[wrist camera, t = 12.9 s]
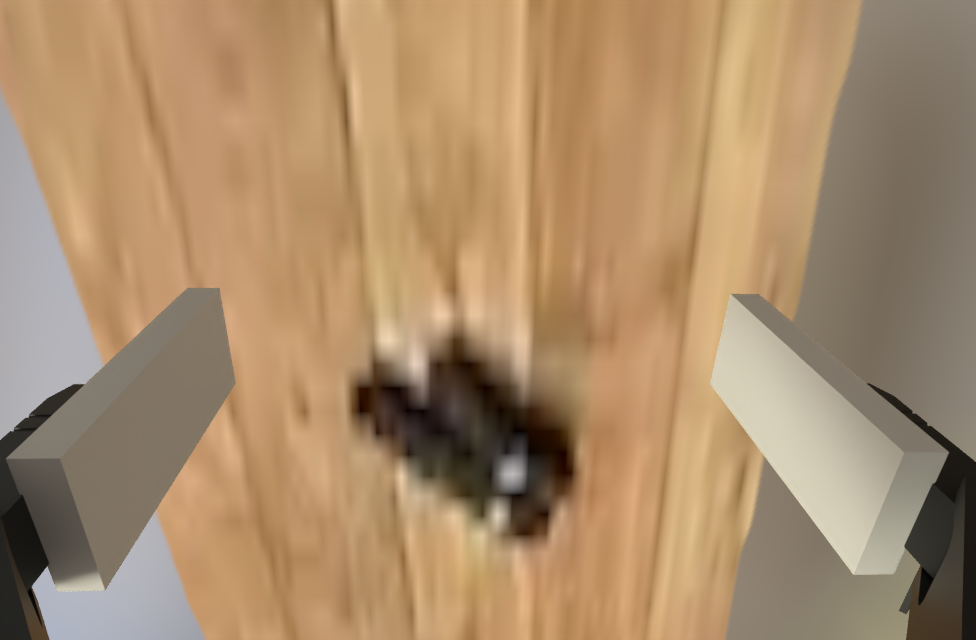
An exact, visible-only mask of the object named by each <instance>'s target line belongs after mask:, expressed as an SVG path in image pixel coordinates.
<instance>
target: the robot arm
mask: <svg viewBox="0 0 976 640" xmlns="http://www.w3.org/2000/svg"><path fill="white" fill-rule="evenodd" d="M235 383H236V382H235V377H234V371H233V365H232V359H231V353H230V347H229V342H228V336H227V330H226V324H225V318H224V313H223V307H222V301H221V295H220V289H219V288H187V289H186V290H185V291H184V292H183V293H182V294H181V295H180V296H178V297H177V298H176V299H175V300H174V301H173V302H172V303H171V304H170V305H169V306H168V307H167V308H166V309H165V310H164V311H162V312H161V313H160V314H159V315H158V316H157V317H156V318H155V319H154V320H153V321H152V322H151V323H150V324H149V325H148V326H147V327H145V328H144V329H143V330H142V331H141V332H140V333H139V334H138V335H137V336H136V337H135V338H134V339H133V340H132V341H131V342H129V343H128V344H127V345H126V346H125V347H124V348H123V349H122V350H121V351H120V352H119V353H118V354H117V355H116V356H115V357H113V358H112V359H111V360H110V361H109V362H108V363H107V364H106V365H105V366H104V367H103V368H102V369H101V370H100V371H99V372H98V373H96V374H95V375H94V376H93V377H92V378H91V379H90V380H89V381H88V382H87V383H86V384H80V385H79V384H74V385H72V386H70V387H68V388H66V389H65V390H62V391H60V392H59V393H57V394H55V395H53V396H51V397H49V398H47V399H46V400H45V401H44V402H43V403H42V404H40V405H39V406H38V407H37V408H36V409H35V410H34V411H33V412H31V413H30V414H29V418H25V419H24V420H23V421H21V422H20V423H19V424H18V425H17V426H16V427H15V428H14V431H13V432H11V431H10V432H9V433H8V434H7V435H6V436H5V437H3V438H2V439H1V440H0V640H49V637H48V634H47V631H46V627H45V624H44V620H43V617H42V614H41V611H40V607H39V604H38V601H37V598H36V596H35V594H34V591H33V589H32V585H33V583H34V582H35V581H36V580H37V579H38V577H39V576H40V575H41V573H42V572H43V571H44V569H45V568H46V567H47V566H48V569H49V571H50V574H51V576H52V579H53V581H54V584H55V586H56V589H57V591H96V590H97V591H99V590H106V588H107V586H108V585H109V583H110V582H111V580H112V578H113V577H114V575H115V574H116V572H117V570H118V569H119V567H120V566H121V564H122V563H123V561H124V559H125V558H126V556H127V555H128V553H129V552H130V550H131V548H132V547H133V545H134V544H135V542H136V540H137V539H138V537H139V536H140V534H141V532H142V530H143V529H144V528H145V526H146V525H147V523H148V521H149V520H150V518H151V517H152V515H153V513H154V512H155V510H156V509H157V507H158V506H159V504H160V502H161V501H162V499H163V498H164V496H165V494H166V493H167V491H168V490H169V488H170V486H171V485H172V483H173V482H174V480H175V479H176V477H177V475H178V474H179V472H180V471H181V469H182V467H183V466H184V464H185V463H186V461H187V459H188V458H189V456H190V455H191V453H192V452H193V450H194V448H195V447H196V445H197V444H198V442H199V440H200V439H201V437H202V436H203V434H204V432H205V431H206V429H207V428H208V426H209V425H210V423H211V421H212V420H213V418H214V417H215V415H216V413H217V412H218V410H219V409H220V407H221V406H222V404H223V402H224V401H225V399H226V398H227V396H228V394H229V393H230V391H231V390H232V388H233V386H234V385H235ZM710 384H711V385H712V387H713V388H714V389H715V391H716V392H717V393H718V395H719V396H720V397H721V399H722V400H723V401H724V403H725V404H726V405H727V407H728V408H729V409H730V411H731V412H732V413H733V415H734V416H735V417H736V419H737V420H738V421H739V423H740V424H741V425H742V427H743V428H744V429H745V431H746V432H747V433H748V435H749V436H750V437H751V439H752V440H753V441H754V443H755V444H756V445H757V447H758V448H759V449H760V451H761V452H762V453H763V455H764V456H765V457H766V459H767V460H768V461H769V463H770V464H771V465H772V467H773V468H774V469H775V471H776V472H777V473H778V475H779V476H780V477H781V479H782V480H783V481H784V482H785V484H786V485H787V487H788V488H789V489H790V491H791V492H792V493H793V495H794V496H795V497H796V499H797V500H798V501H799V502H800V504H801V505H802V506H803V508H804V509H805V511H806V512H807V513H808V515H809V516H810V517H811V518H812V520H813V521H814V523H815V524H816V525H817V527H818V528H819V529H820V531H821V532H822V533H823V535H825V537H826V539H827V540H828V541H829V543H830V544H831V545H832V547H833V548H834V549H835V551H836V552H837V553H838V554H839V556H840V557H841V559H842V560H843V561H844V563H845V564H846V565H847V567H848V568H849V569H850V570H851V572H852V573H853V574H854V575H867V574H894V572H895V570H896V568H897V566H898V563H899V561H900V559H901V557H902V555H903V553H904V550H905V548H906V549H907V550H908V551H909V552H910V554H911V555H912V556H913V557H914V558H915V559H916V560H917V561H918V563H919V564H920V565H921V566H920V568H919V570H918V572H917V574H916V576H915V578H914V580H913V582H912V584H911V587H910V589H909V591H908V593H907V595H906V597H905V599H904V601H903V603H902V605H901V607H900V610H899V611H901V612H903V613H905V614H906V613H907V612H908V610H909V609H910V612H909V620H908V629H907V637H906V640H976V462H975V461H974V460H973V459H971V458H970V457H969V456H968V455H966V454H965V453H964V452H963V451H962V450H960V449H959V448H958V447H956V446H955V445H954V444H953V443H952V442H950V441H949V440H948V439H946V438H945V437H944V436H943V435H942V434H940V433H939V432H938V431H937V430H935V429H934V428H933V427H931V426H927V422H925V421H924V420H923V419H921V417H919V416H918V415H917V414H913V413H912V410H911V409H909V408H908V407H907V406H906V405H904V404H903V403H902V402H901V401H899V400H898V399H897V398H896V397H894V396H893V395H891V394H889V393H887V392H885V391H883V390H881V389H879V388H877V387H875V386H873V385H871V384H866V383H865V382H864V381H863V380H861V379H860V378H859V377H857V375H855V374H854V373H853V372H852V371H850V370H849V369H848V368H847V367H846V366H844V365H843V364H842V363H841V362H840V361H838V360H837V359H836V358H835V357H833V356H832V355H831V354H830V353H829V352H827V351H826V350H825V349H824V348H823V347H822V346H820V345H819V344H818V343H817V342H816V341H814V340H813V339H812V338H811V337H810V336H808V335H807V334H806V333H805V332H803V331H802V330H801V329H800V328H799V327H797V326H796V325H795V324H794V323H793V322H791V321H790V320H789V319H788V318H787V317H785V316H784V315H783V314H782V313H781V312H779V311H778V310H777V309H776V308H775V307H773V306H772V305H771V304H770V303H769V302H767V301H766V300H765V299H764V298H763V297H761V296H760V295H759V294H730V298H729V303H728V307H727V312H726V316H725V320H724V325H723V329H722V334H721V338H720V342H719V347H718V351H717V356H716V360H715V364H714V369H713V373H712V377H711V382H710Z"/></svg>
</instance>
